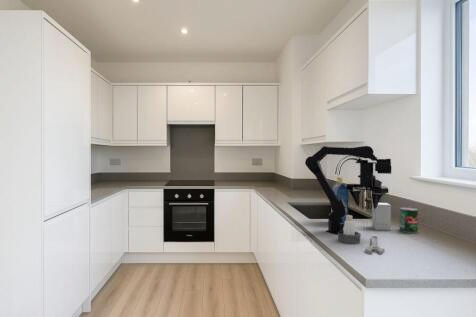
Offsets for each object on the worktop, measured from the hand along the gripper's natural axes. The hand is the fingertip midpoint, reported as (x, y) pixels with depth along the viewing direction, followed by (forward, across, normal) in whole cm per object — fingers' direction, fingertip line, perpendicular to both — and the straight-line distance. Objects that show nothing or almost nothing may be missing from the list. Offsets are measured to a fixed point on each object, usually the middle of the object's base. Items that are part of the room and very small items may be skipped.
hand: (366, 207), depth 143 cm
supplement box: (+13, +5, -18) cm, 23 cm away
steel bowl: (+13, -3, +15) cm, 20 cm away
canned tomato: (+13, -5, -25) cm, 29 cm away
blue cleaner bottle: (+13, +22, -7) cm, 27 cm away
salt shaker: (+13, -3, +15) cm, 20 cm away
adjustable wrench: (+14, -13, +11) cm, 22 cm away
